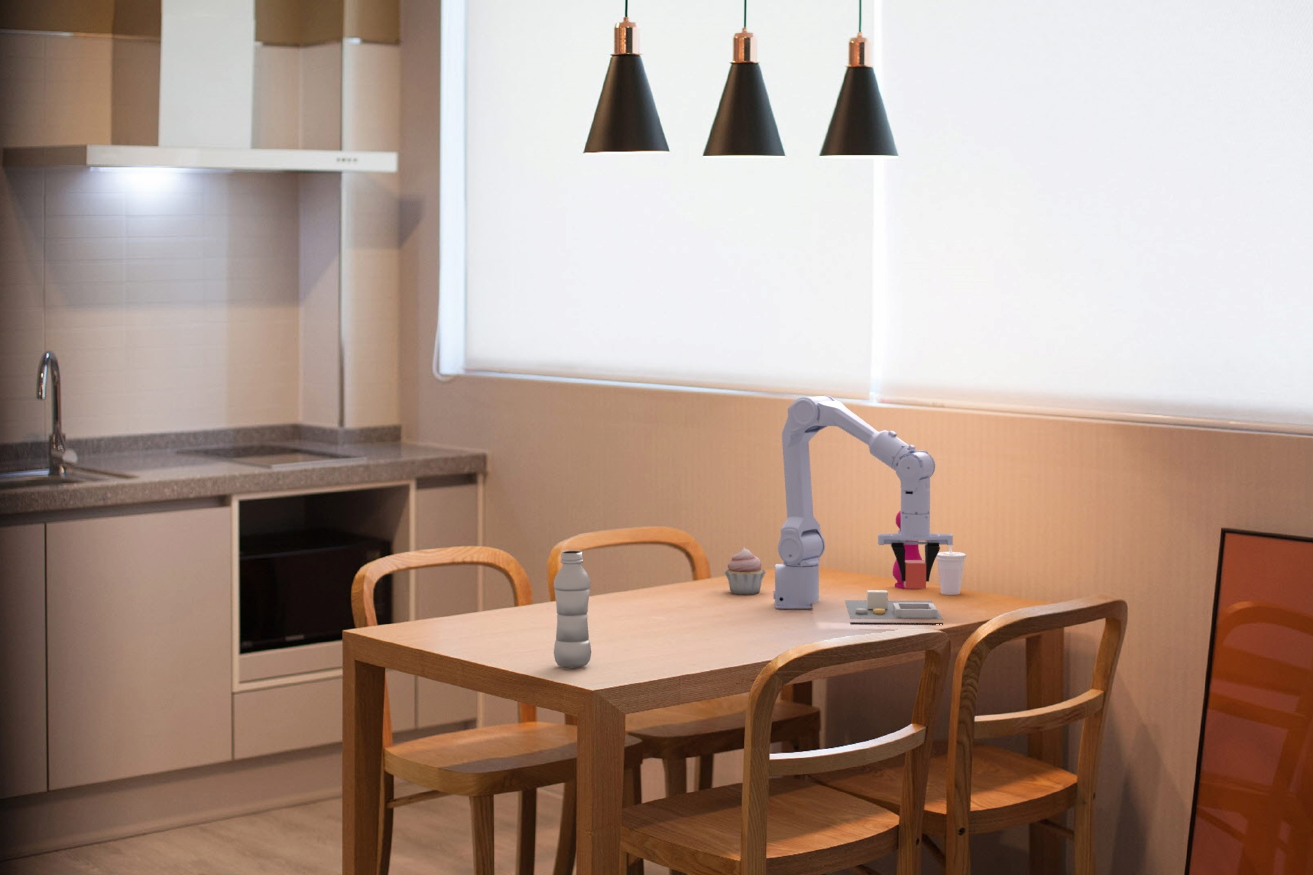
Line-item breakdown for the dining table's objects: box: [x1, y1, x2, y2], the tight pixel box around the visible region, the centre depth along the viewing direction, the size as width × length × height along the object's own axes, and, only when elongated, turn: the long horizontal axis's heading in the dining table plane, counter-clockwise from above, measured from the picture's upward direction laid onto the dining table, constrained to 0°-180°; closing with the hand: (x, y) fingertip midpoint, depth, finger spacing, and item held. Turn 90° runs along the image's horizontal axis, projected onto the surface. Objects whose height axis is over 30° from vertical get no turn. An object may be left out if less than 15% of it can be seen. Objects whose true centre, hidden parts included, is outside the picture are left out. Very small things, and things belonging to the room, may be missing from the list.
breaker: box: [866, 589, 889, 609], centre depth 312 cm, size 4×2×3 cm, turn 86°
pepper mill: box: [892, 510, 923, 590], centre depth 337 cm, size 7×7×20 cm
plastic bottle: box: [553, 550, 592, 668], centre depth 265 cm, size 6×7×20 cm
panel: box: [844, 599, 944, 626], centre depth 311 cm, size 18×20×3 cm
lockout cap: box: [904, 559, 927, 589], centre depth 306 cm, size 4×4×5 cm
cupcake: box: [723, 546, 767, 595], centre depth 338 cm, size 9×9×10 cm
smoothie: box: [935, 532, 967, 596], centre depth 329 cm, size 6×6×14 cm
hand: (914, 580), depth 306 cm, fingers closed on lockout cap, 4 cm apart
